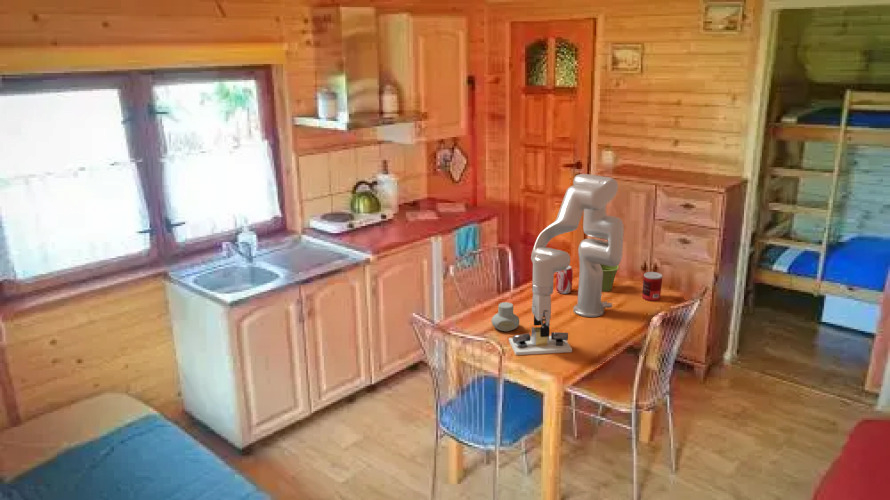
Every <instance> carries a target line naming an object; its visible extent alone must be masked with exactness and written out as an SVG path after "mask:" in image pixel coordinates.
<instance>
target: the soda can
mask: <svg viewBox="0 0 890 500" xmlns="http://www.w3.org/2000/svg"><path fill="white" fill-rule="evenodd" d="M573 275H574V271H573V267H572V266H571V265H569V266H568V267H567V268H566V269H565V270H563V271H560V272H556V284H555V290H556V292H558V293H559V294H562V295H567V294H569V293H571V292H572V289H573V277H574V276H573Z"/></svg>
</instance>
